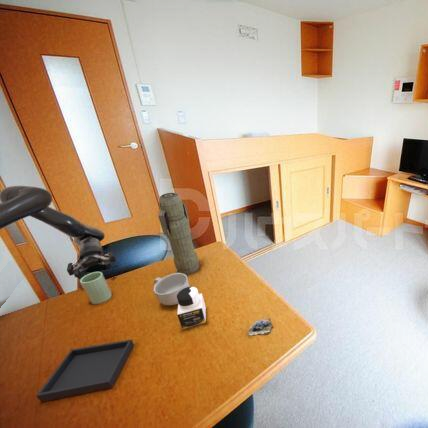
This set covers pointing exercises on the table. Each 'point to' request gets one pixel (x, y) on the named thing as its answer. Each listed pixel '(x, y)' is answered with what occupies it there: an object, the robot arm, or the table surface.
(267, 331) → the blueberries
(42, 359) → the table surface
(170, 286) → the teacup
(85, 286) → the celadon cup
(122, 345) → the tray
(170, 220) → the thermos
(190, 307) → the medicine bottle
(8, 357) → the table surface
